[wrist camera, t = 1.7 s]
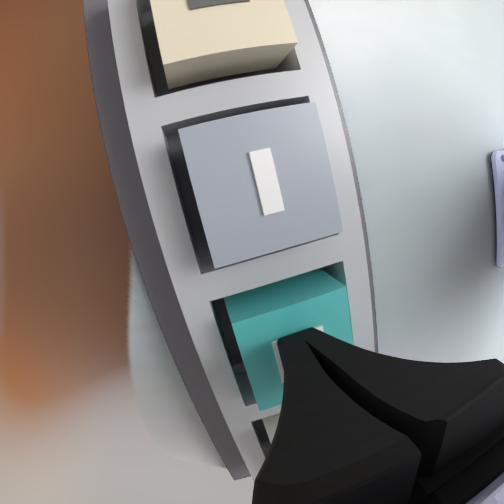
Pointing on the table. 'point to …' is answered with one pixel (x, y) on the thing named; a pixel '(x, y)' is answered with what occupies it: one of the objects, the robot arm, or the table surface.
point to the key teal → (284, 324)
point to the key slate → (261, 181)
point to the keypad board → (188, 217)
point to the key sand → (220, 37)
